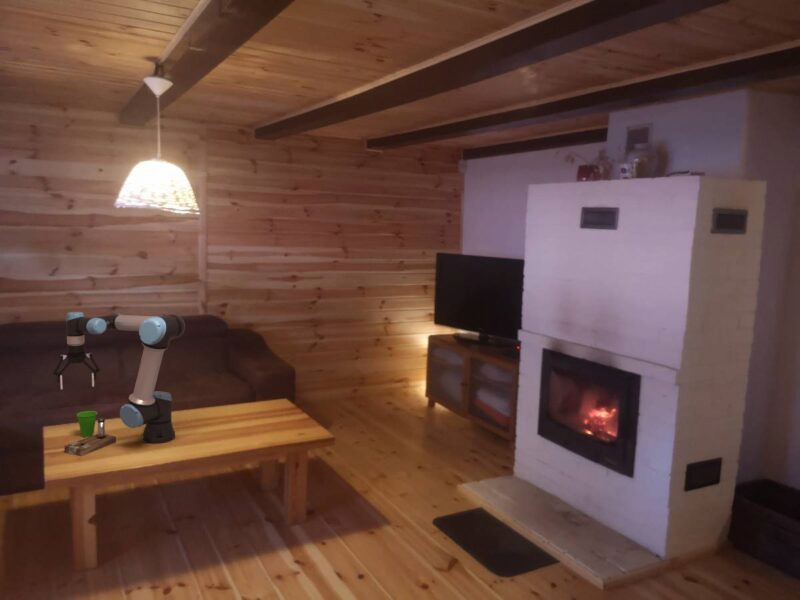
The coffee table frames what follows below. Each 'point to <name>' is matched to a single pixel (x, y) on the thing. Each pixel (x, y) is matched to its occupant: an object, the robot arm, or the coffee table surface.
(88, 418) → the cup
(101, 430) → the lock pin
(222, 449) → the coffee table surface
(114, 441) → the mount board
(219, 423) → the coffee table surface
